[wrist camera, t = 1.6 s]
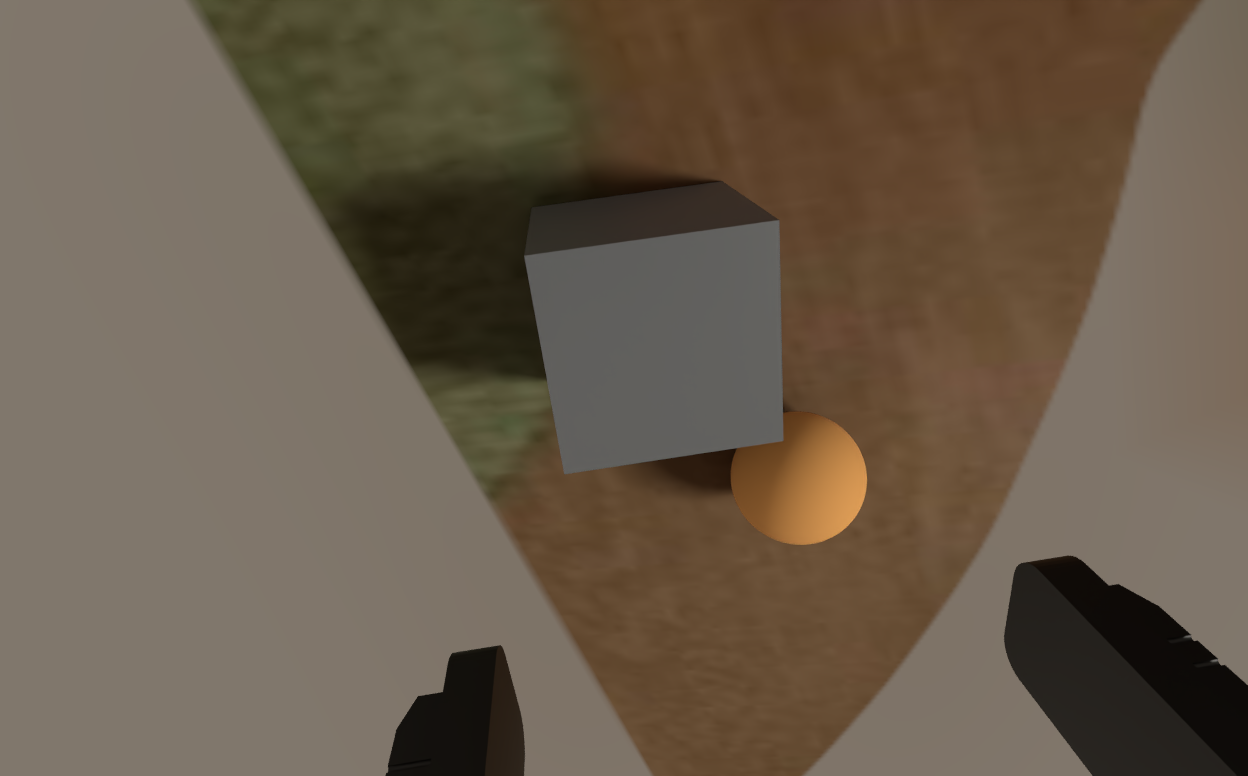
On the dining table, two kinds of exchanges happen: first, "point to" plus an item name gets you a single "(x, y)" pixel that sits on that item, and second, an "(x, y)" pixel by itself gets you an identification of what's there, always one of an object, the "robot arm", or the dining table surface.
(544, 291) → the matte gray cube
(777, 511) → the ball
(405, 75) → the dining table surface
